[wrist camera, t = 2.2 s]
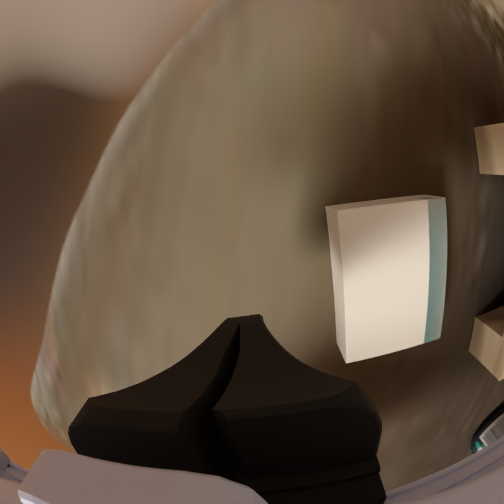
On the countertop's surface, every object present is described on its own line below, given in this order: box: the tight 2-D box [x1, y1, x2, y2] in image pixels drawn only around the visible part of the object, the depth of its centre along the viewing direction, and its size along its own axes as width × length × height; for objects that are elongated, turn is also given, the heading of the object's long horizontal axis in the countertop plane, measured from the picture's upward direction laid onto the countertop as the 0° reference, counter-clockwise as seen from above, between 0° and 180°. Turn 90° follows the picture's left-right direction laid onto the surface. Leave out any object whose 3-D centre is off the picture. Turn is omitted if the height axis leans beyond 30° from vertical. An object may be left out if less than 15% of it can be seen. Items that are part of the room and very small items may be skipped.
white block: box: [325, 195, 447, 363], centre depth 14 cm, size 6×8×2 cm
